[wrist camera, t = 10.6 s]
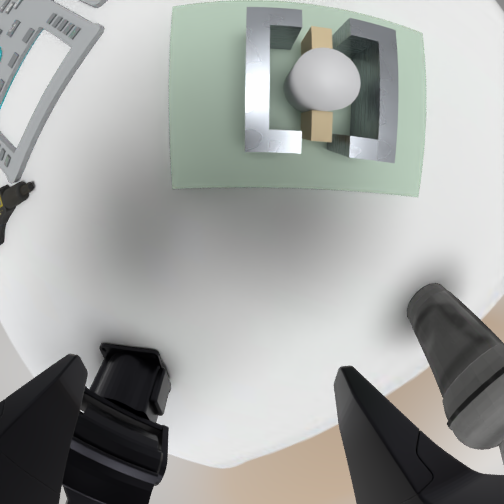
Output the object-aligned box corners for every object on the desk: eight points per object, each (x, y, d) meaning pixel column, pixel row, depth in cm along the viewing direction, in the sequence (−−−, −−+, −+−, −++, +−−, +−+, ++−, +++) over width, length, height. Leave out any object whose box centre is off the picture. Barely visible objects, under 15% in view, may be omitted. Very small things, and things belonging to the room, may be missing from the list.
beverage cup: (463, 295, 21) (565, 444, 3) (413, 343, 23) (486, 507, 5) (439, 254, 19) (582, 440, 1) (380, 312, 21) (470, 528, 3)
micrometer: (-18, 254, 18) (-33, 212, 16) (-8, 247, 19) (-22, 206, 17) (37, 231, 17) (19, 173, 14) (50, 223, 18) (34, 168, 16)
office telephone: (55, -78, 2) (180, -56, 7) (66, -70, 4) (188, -39, 10) (-62, 104, 9) (0, 201, 15) (-47, 101, 11) (19, 192, 17)
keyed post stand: (177, 184, 17) (149, 208, 12) (177, 13, 12) (152, -20, 7) (409, 192, 17) (452, 217, 12) (413, 36, 12) (456, 20, 7)
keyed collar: (246, 146, 15) (244, 152, 11) (247, 33, 12) (246, 6, 8) (363, 153, 15) (394, 163, 11) (365, 47, 12) (395, 30, 8)
